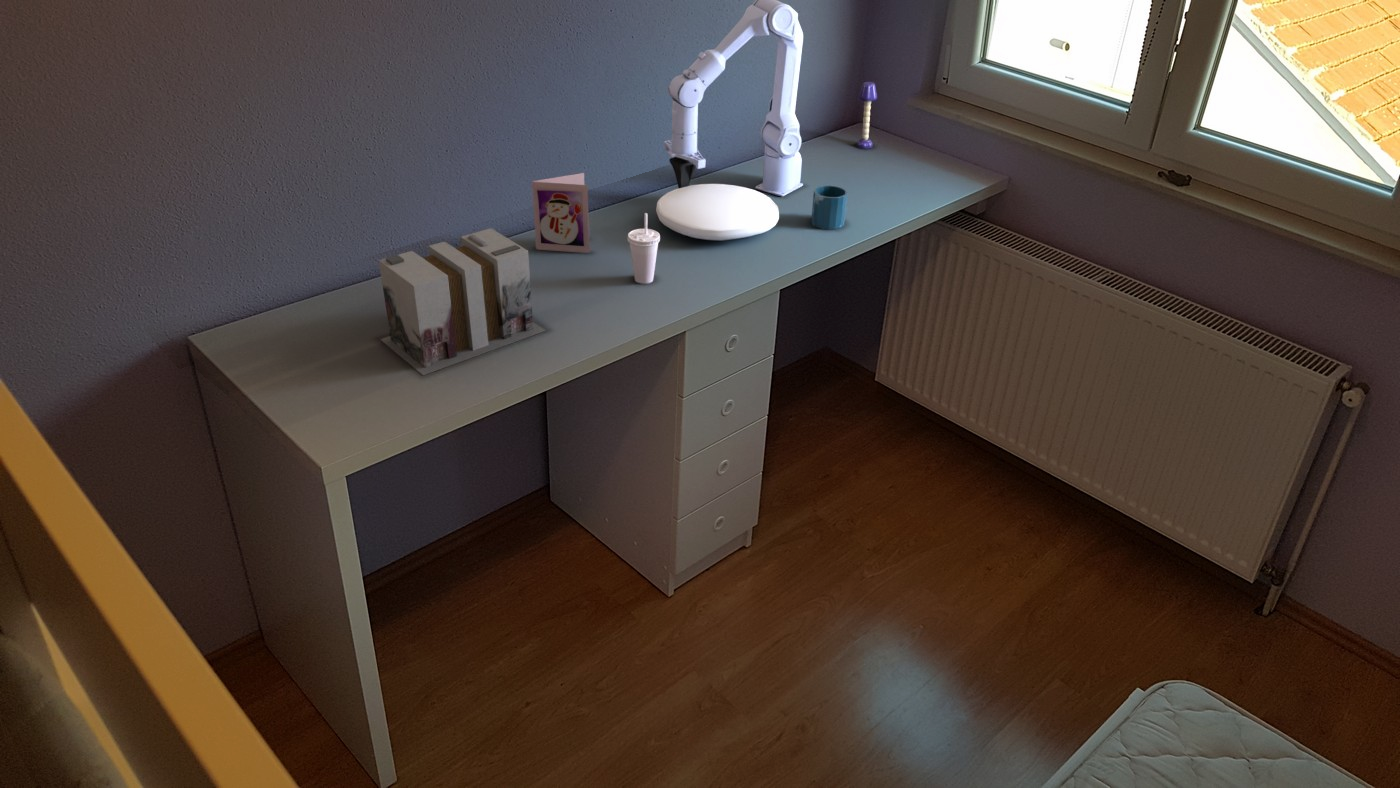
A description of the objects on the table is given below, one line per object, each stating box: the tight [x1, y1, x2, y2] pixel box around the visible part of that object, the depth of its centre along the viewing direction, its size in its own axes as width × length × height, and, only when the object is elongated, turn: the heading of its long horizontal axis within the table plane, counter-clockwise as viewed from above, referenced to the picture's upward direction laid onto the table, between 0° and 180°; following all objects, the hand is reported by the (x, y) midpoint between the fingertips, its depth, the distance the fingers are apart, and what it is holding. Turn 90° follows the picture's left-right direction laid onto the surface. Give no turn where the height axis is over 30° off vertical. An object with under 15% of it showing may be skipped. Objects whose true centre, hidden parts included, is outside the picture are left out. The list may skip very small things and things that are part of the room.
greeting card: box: [531, 172, 591, 254], centre depth 223 cm, size 11×7×15 cm, turn 83°
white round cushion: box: [655, 183, 780, 241], centre depth 237 cm, size 28×6×27 cm
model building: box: [378, 227, 547, 376], centre depth 189 cm, size 16×25×16 cm, turn 131°
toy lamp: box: [855, 81, 878, 150], centre depth 279 cm, size 5×5×17 cm
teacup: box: [810, 184, 848, 231], centre depth 238 cm, size 7×7×8 cm
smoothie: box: [627, 212, 661, 285], centre depth 210 cm, size 6×6×14 cm
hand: (683, 188), depth 246 cm, fingers closed
